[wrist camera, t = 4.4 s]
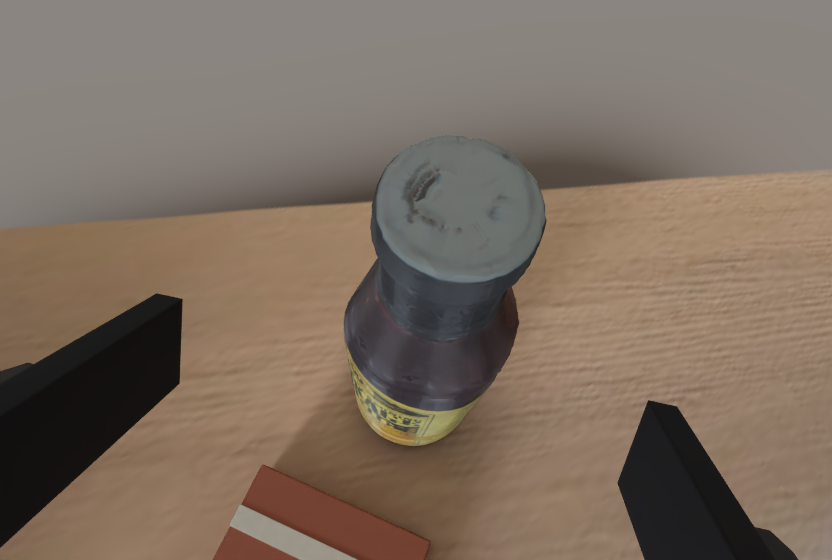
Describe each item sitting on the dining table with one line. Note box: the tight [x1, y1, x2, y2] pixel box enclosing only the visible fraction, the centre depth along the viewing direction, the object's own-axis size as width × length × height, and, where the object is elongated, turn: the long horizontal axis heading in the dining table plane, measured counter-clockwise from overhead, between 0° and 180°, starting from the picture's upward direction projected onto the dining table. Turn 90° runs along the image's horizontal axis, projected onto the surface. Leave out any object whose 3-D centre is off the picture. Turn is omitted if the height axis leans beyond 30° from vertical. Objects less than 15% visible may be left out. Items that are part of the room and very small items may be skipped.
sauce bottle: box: [344, 136, 546, 446], centre depth 21 cm, size 7×6×20 cm
